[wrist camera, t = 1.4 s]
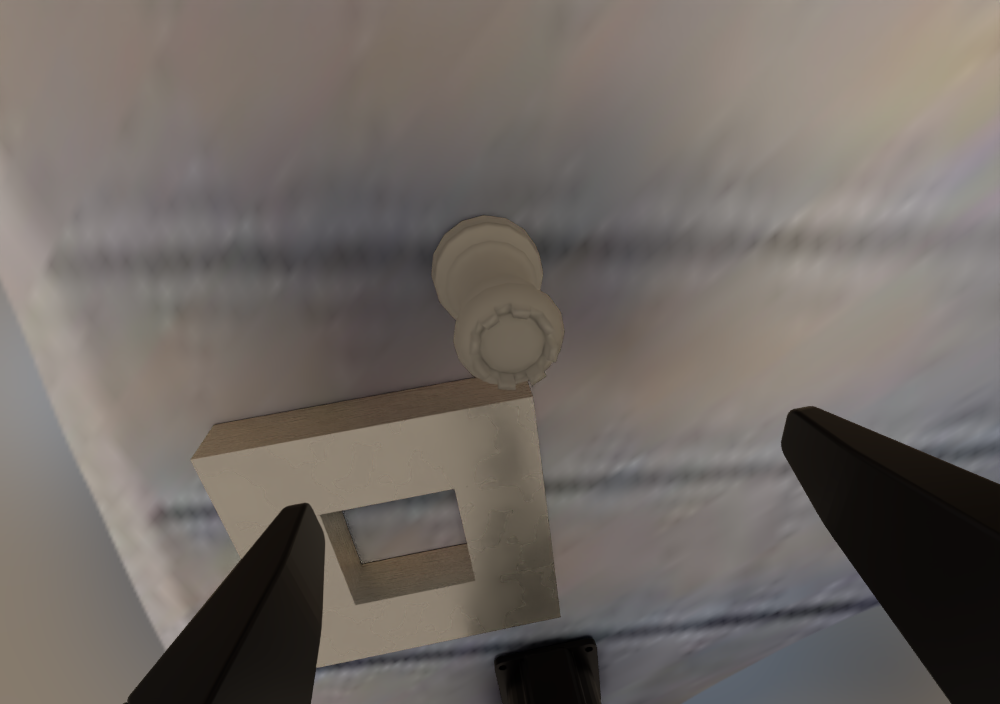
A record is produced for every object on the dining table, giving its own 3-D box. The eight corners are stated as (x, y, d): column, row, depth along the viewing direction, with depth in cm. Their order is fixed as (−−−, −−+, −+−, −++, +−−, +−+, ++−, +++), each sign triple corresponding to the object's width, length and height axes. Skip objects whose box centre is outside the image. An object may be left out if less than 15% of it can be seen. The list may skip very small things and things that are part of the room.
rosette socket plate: (550, 578, 30) (560, 616, 27) (308, 627, 29) (298, 671, 27) (522, 368, 23) (533, 396, 21) (213, 425, 23) (190, 459, 20)
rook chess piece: (554, 233, 21) (620, 300, 14) (515, 329, 23) (556, 434, 15) (450, 196, 20) (463, 248, 13) (417, 300, 21) (412, 398, 14)
